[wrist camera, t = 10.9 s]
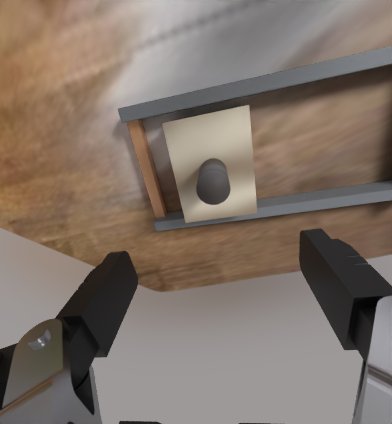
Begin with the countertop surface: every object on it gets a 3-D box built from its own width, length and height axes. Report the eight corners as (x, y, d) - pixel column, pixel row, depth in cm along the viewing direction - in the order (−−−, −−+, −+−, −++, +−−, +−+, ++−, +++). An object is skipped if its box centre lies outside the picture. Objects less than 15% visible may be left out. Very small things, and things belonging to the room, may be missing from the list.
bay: (127, 109, 27) (110, 108, 23) (459, 33, 22) (523, 12, 17) (160, 221, 34) (152, 238, 30) (418, 186, 29) (456, 199, 24)
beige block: (171, 121, 27) (144, 126, 16) (241, 106, 26) (262, 102, 15) (190, 204, 32) (178, 250, 21) (249, 195, 31) (269, 240, 20)
